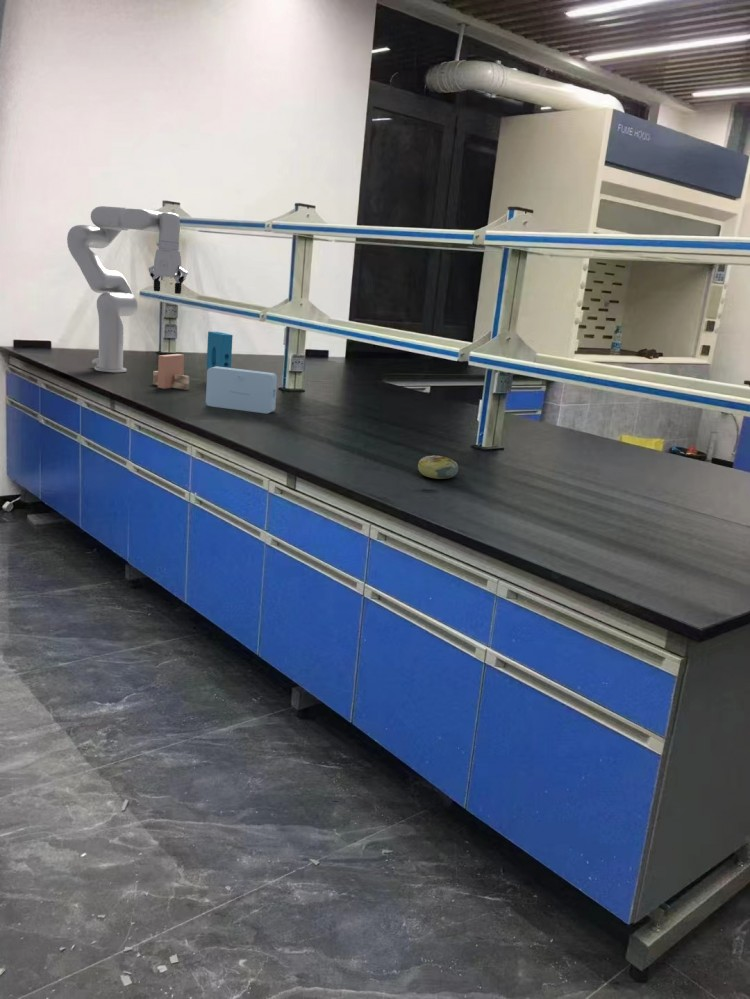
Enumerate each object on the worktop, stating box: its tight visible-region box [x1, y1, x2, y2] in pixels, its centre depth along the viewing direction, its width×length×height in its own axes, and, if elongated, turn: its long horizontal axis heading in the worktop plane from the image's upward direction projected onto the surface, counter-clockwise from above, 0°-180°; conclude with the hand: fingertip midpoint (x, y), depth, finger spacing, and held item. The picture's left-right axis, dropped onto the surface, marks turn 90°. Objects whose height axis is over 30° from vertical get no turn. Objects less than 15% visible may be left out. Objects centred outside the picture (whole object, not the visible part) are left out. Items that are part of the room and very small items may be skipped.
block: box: [206, 330, 233, 371], centre depth 344 cm, size 12×5×20 cm, turn 41°
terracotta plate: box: [157, 353, 185, 389], centre depth 324 cm, size 3×12×12 cm, turn 157°
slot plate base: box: [152, 370, 190, 391], centre depth 324 cm, size 15×2×5 cm, turn 68°
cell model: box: [417, 455, 459, 480], centre depth 222 cm, size 10×8×14 cm
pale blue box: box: [205, 366, 278, 414], centre depth 291 cm, size 23×6×13 cm, turn 79°
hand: (167, 292), depth 331 cm, fingers open, 9 cm apart
